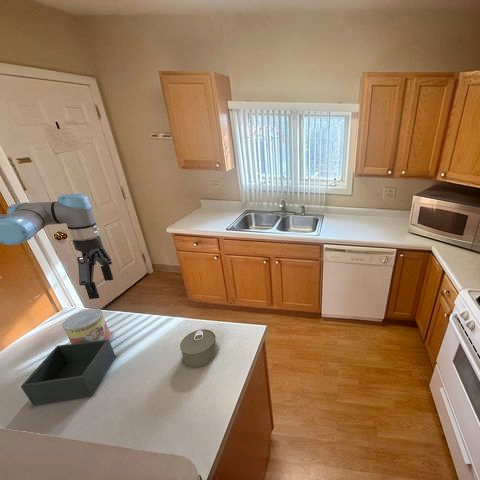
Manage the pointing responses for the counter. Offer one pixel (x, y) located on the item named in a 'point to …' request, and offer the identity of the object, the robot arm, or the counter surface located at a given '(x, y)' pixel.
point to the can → (199, 348)
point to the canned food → (86, 327)
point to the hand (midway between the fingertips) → (102, 288)
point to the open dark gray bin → (69, 372)
